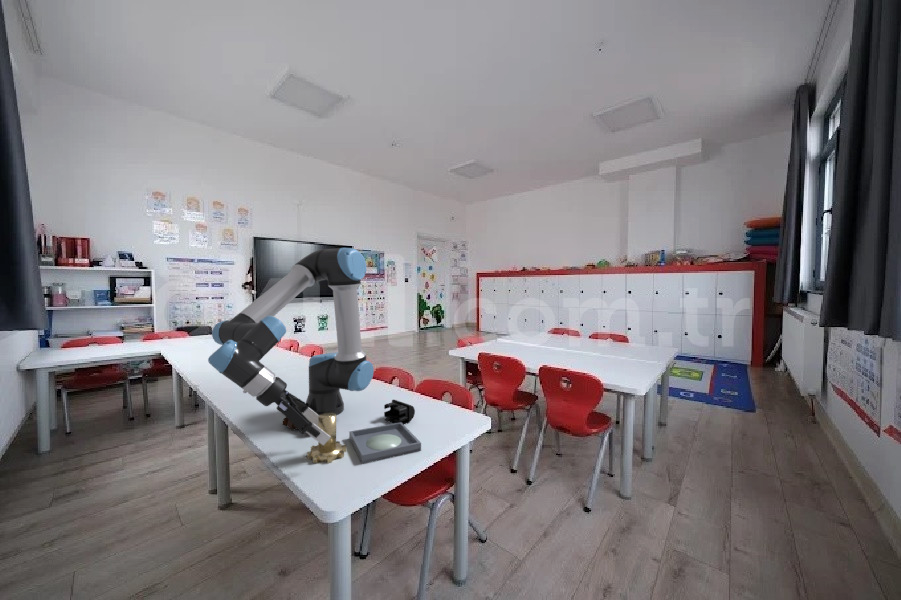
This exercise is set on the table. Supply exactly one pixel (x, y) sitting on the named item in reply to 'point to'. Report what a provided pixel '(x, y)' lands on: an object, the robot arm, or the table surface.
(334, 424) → the toothed flange peg
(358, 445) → the carrier tray
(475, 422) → the table surface
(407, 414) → the end cap
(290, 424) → the bolt
